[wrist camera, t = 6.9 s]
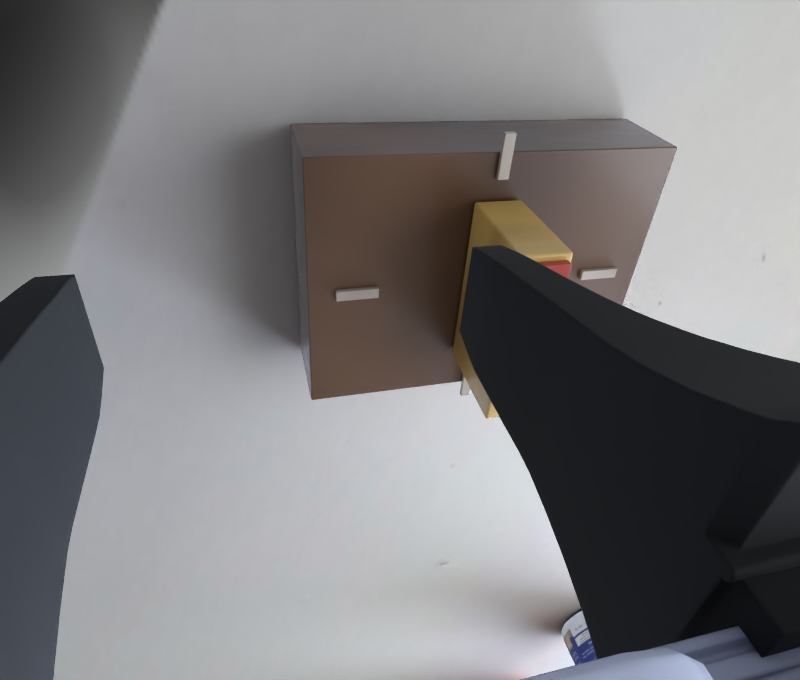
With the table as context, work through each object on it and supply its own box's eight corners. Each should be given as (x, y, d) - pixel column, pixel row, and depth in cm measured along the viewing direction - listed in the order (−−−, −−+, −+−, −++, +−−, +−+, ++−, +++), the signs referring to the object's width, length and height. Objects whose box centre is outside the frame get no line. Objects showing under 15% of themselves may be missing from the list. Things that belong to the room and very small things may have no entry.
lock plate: (301, 361, 24) (312, 415, 22) (289, 103, 18) (301, 137, 15) (564, 333, 27) (600, 377, 24) (632, 101, 21) (687, 129, 18)
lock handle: (491, 349, 22) (534, 418, 19) (451, 353, 22) (488, 425, 19) (521, 199, 18) (579, 256, 16) (474, 201, 18) (523, 261, 15)
